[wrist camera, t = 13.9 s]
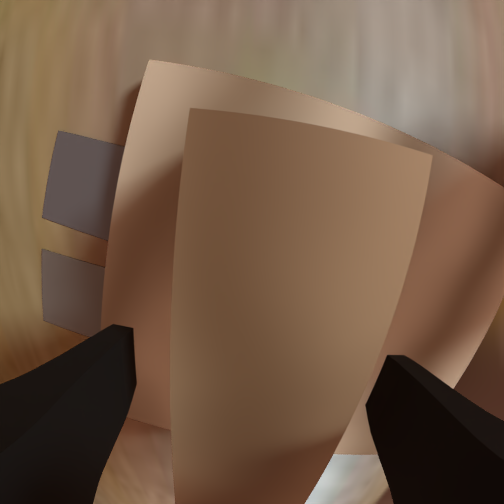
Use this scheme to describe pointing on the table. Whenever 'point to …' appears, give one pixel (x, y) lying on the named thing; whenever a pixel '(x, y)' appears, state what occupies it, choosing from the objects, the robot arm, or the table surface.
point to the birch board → (322, 114)
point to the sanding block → (280, 297)
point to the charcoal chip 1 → (83, 183)
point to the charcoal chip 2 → (72, 293)
